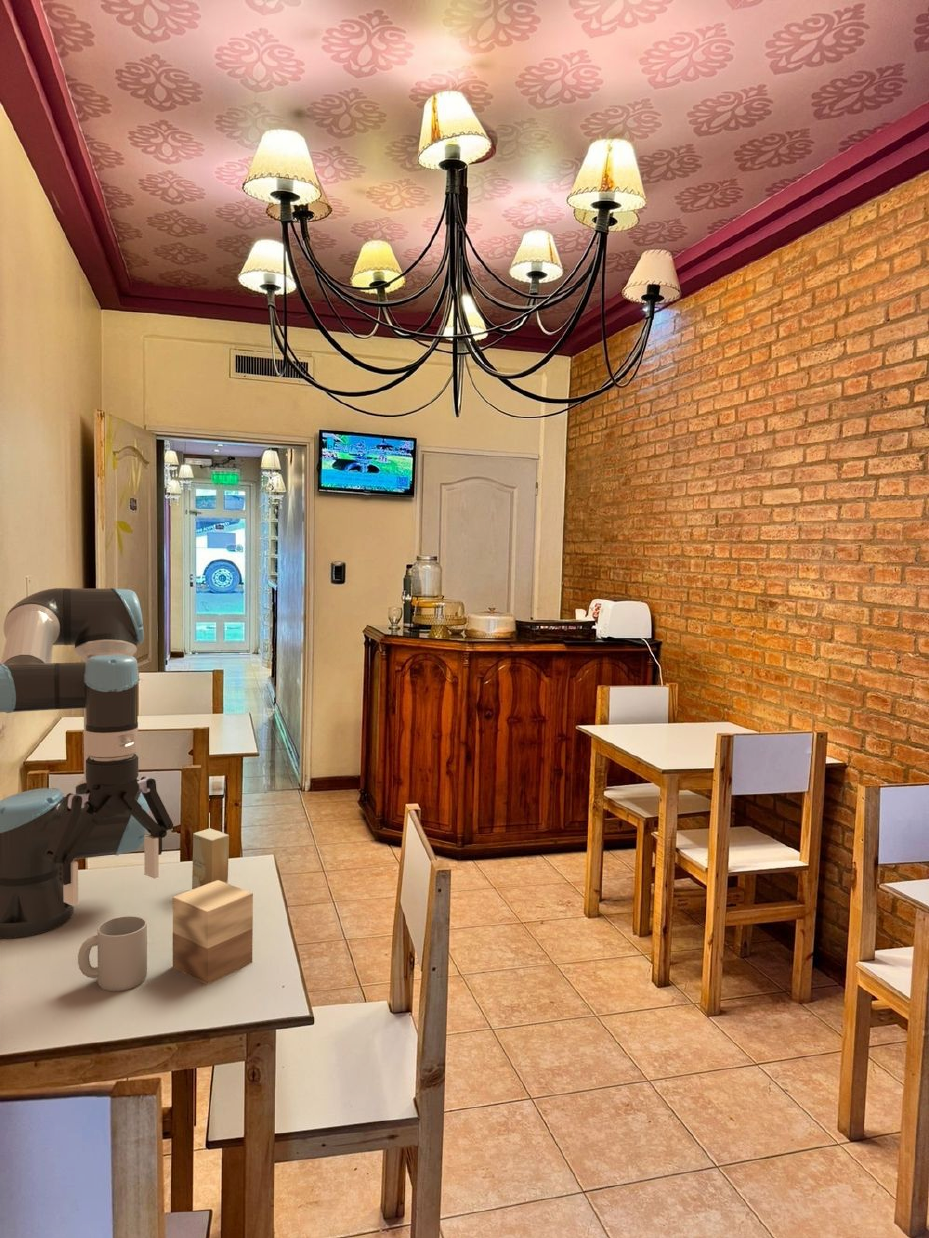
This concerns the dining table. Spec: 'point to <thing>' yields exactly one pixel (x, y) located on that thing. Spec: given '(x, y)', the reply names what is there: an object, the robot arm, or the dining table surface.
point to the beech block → (212, 913)
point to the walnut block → (212, 957)
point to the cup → (117, 953)
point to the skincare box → (210, 857)
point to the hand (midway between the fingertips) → (112, 889)
